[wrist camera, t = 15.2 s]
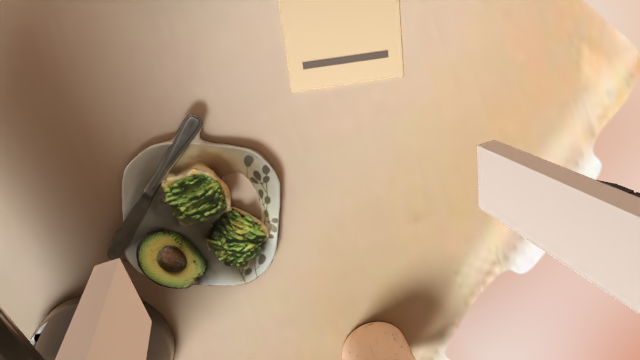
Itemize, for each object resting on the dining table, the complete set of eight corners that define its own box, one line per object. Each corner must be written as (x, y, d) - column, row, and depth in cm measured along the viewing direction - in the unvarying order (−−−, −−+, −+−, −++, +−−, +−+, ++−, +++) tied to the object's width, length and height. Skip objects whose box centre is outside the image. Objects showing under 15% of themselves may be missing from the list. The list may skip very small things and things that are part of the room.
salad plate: (111, 102, 39) (93, 108, 34) (291, 123, 42) (294, 131, 38) (113, 274, 44) (97, 298, 40) (272, 281, 48) (273, 304, 43)
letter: (291, 92, 41) (292, 93, 41) (265, -86, 36) (265, -87, 35) (402, 76, 42) (403, 76, 42) (392, -99, 37) (393, -100, 37)
